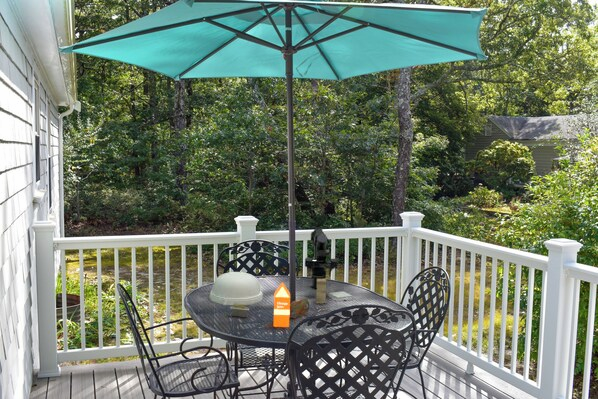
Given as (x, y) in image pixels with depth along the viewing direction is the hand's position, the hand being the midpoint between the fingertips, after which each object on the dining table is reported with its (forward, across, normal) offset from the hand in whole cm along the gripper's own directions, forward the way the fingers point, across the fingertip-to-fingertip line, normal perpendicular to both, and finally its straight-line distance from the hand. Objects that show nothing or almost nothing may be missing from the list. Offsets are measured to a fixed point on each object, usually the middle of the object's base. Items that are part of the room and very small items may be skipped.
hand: (321, 275), depth 322 cm
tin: (+34, -14, -13) cm, 39 cm away
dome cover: (+12, -48, +9) cm, 50 cm away
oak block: (+16, 0, +4) cm, 16 cm away
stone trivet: (+9, +12, +12) cm, 19 cm away
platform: (+36, -44, -15) cm, 58 cm away
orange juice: (+44, -23, -22) cm, 54 cm away
